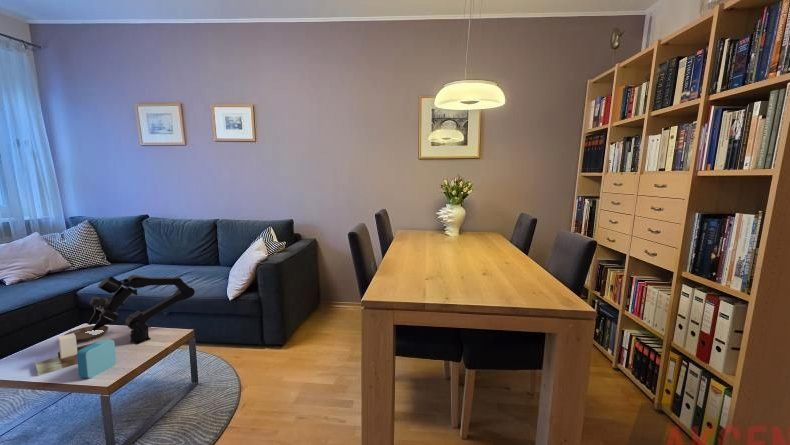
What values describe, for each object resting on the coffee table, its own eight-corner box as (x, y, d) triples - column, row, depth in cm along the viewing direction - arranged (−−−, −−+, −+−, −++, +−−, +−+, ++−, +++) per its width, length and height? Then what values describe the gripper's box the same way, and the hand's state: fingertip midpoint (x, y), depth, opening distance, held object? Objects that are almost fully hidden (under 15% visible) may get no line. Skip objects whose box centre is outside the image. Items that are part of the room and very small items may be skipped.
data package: (107, 363, 145) (105, 337, 144) (116, 364, 144) (114, 338, 143) (78, 378, 133) (75, 351, 132) (88, 379, 133) (85, 352, 131)
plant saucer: (92, 328, 180) (92, 323, 180) (117, 331, 176) (116, 326, 176) (53, 343, 163) (52, 337, 162) (79, 347, 159) (78, 341, 159)
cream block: (75, 353, 149) (73, 332, 148) (77, 357, 146) (75, 336, 145) (60, 357, 145) (58, 336, 144) (62, 361, 142) (59, 340, 141)
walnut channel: (104, 347, 159) (104, 339, 158) (109, 353, 153) (109, 345, 152) (35, 367, 141) (34, 358, 140) (38, 375, 135) (37, 366, 134)
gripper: (98, 286, 158) (69, 314, 151) (107, 294, 147) (76, 325, 140) (120, 297, 166) (93, 324, 158) (130, 305, 154) (102, 335, 147)
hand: (90, 327), depth 151 cm, fingers open, 9 cm apart
